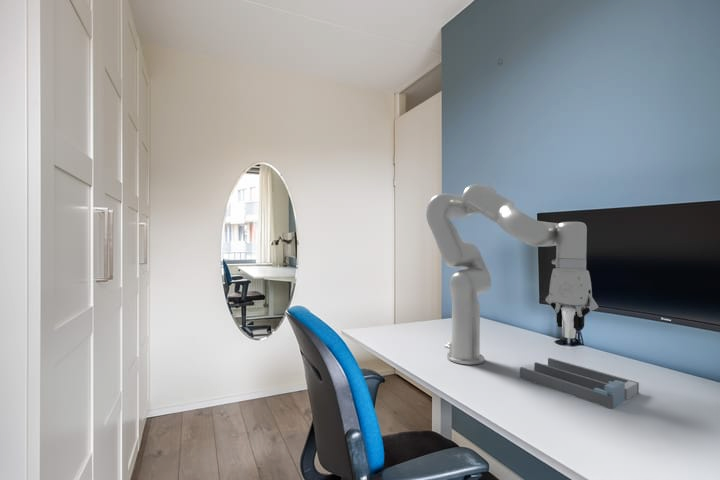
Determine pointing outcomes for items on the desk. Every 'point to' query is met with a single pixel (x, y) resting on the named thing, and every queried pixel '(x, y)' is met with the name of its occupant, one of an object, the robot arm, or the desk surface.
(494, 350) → the desk surface
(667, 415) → the desk surface
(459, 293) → the robot arm
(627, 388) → the grey divided tray
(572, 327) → the milkshake
